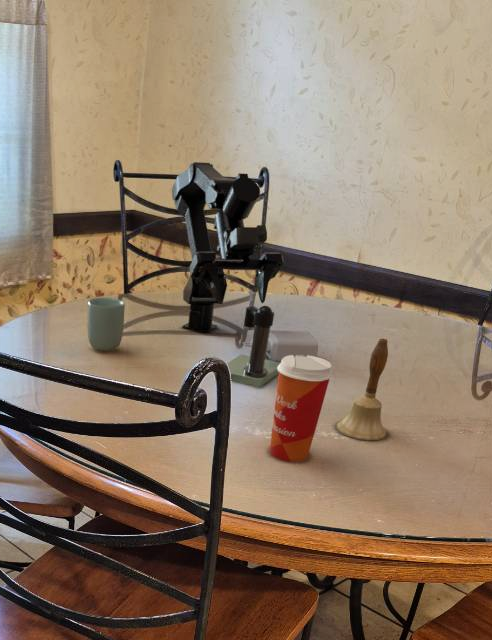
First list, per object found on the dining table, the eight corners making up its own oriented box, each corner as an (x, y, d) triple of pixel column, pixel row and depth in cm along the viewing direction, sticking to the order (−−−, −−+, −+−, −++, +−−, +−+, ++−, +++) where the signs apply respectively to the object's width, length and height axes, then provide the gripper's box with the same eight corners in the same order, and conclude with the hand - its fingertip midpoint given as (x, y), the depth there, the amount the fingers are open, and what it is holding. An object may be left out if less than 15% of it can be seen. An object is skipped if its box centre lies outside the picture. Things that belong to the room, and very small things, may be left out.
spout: (272, 340, 137) (278, 308, 134) (255, 341, 136) (260, 308, 133) (255, 326, 145) (259, 296, 141) (238, 326, 144) (242, 295, 141)
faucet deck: (240, 360, 153) (248, 308, 147) (283, 370, 149) (292, 317, 143) (215, 376, 143) (221, 321, 138) (259, 387, 139) (268, 331, 134)
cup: (118, 356, 152) (120, 308, 146) (83, 352, 153) (84, 304, 147) (125, 345, 158) (127, 299, 153) (91, 341, 159) (92, 295, 154)
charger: (238, 349, 160) (303, 351, 161) (246, 362, 152) (315, 364, 153) (241, 327, 158) (307, 330, 159) (249, 340, 150) (319, 342, 151)
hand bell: (389, 443, 119) (415, 349, 111) (338, 437, 120) (360, 344, 112) (382, 424, 126) (406, 334, 118) (334, 419, 127) (354, 329, 119)
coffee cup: (257, 442, 117) (272, 352, 109) (305, 443, 118) (324, 353, 110) (270, 465, 110) (287, 371, 102) (322, 465, 111) (343, 372, 103)
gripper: (199, 207, 140) (210, 279, 136) (288, 210, 143) (301, 279, 140) (184, 243, 150) (194, 310, 147) (267, 244, 154) (278, 310, 151)
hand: (242, 302), depth 146 cm, fingers open, 9 cm apart
